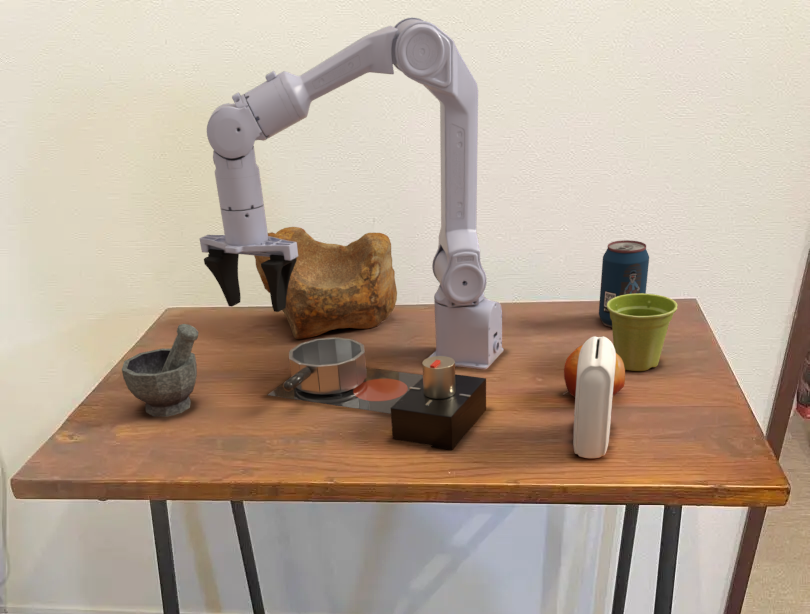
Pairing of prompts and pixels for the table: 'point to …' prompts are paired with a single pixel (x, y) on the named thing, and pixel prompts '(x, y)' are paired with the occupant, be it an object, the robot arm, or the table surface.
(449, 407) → the box
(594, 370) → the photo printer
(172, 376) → the mortar and pestle
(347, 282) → the rough brown rock
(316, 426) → the table surface
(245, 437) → the table surface
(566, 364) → the fruit
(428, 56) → the robot arm
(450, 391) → the knob
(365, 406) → the hob
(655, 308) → the plant pot
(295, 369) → the saucepan
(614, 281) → the soda can
